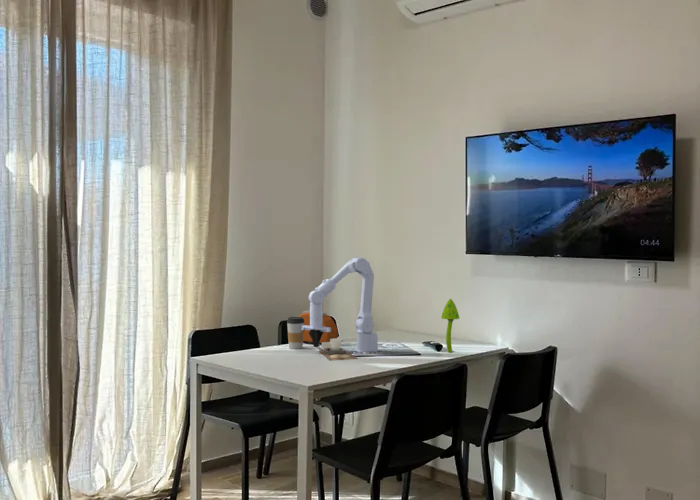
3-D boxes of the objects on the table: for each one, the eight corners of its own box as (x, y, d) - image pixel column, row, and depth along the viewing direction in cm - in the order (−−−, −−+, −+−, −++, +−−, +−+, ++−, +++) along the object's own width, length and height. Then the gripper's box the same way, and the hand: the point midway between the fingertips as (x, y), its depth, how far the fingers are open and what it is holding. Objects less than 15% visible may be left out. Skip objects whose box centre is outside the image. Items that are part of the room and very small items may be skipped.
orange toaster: (338, 343, 347) (338, 310, 347) (328, 346, 340) (328, 312, 339) (299, 339, 359) (299, 307, 359) (289, 342, 352) (289, 309, 351)
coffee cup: (301, 351, 327) (301, 319, 326) (284, 350, 329) (284, 318, 328) (306, 347, 335) (306, 316, 335) (289, 347, 337) (289, 316, 336)
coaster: (347, 354, 315) (347, 353, 315) (352, 358, 307) (352, 357, 307) (328, 355, 313) (328, 354, 313) (332, 359, 304) (332, 358, 304)
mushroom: (462, 352, 325) (463, 298, 324) (452, 354, 319) (453, 300, 318) (447, 349, 330) (448, 297, 329) (437, 352, 324) (437, 298, 323)
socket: (341, 350, 324) (341, 347, 324) (346, 353, 316) (346, 350, 316) (323, 351, 322) (323, 348, 322) (328, 354, 314) (328, 351, 314)
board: (344, 350, 328) (344, 349, 328) (358, 360, 305) (358, 359, 305) (317, 352, 324) (317, 350, 324) (329, 361, 301) (329, 360, 301)
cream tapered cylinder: (340, 351, 323) (340, 338, 322) (343, 353, 318) (343, 339, 318) (320, 352, 320) (320, 338, 320) (323, 354, 315) (323, 340, 315)
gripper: (298, 317, 319) (298, 346, 319) (324, 319, 312) (324, 349, 312) (306, 315, 325) (306, 344, 326) (333, 317, 318) (333, 347, 318)
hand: (316, 346), depth 319 cm, fingers closed
